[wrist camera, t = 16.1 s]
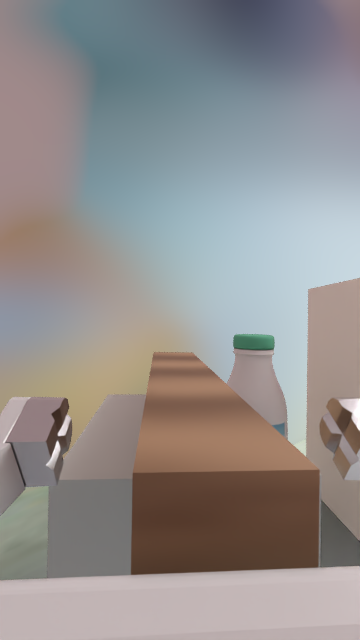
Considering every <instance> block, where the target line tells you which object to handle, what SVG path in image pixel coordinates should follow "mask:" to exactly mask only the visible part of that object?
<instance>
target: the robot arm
mask: <svg viewBox="0 0 360 640" xmlns="http://www.w3.org/2000/svg"><path fill="white" fill-rule="evenodd" d="M326 408H327V410H328V413H326V414H325V415H324V416H322V418H321V421H320V424H319V427H320V436H321V439H322V441H323V443H324V445H325V447H326V448H327V449H329V450H330V451H331V452H333V453H334V455H333V462H334V463H335V465H336V467H337V469H338V471H339V472H340V474H341V476H342V478H343V480H360V397H353V398H331V399H330V400H329V401H328V403H327V405H326ZM68 409H69V404H68V399H66V398H54V397H53V398H52V397H13V398H12V399H10V400H9V401H8V403H7V405H6V407H5V408H4V409H3V411H2V413H1V414H0V516H1V515H2V513H3V512H4V511H5V510H6V509H7V508H8V507H9V506H10V505H11V504H12V503H13V502H14V501H15V500H16V499H17V497H18V496H19V495H20V494H21V493H22V492H23V491H24V490H25V487H38V486H57V484H58V481H59V478H60V475H61V471H62V468H63V465H64V462H63V457H62V455H63V454H64V453H65V452H67V451H68V449H69V445H70V442H71V436H72V420H71V417H69V416H68V415H67V412H68ZM0 640H360V566H345V567H319V568H294V569H268V570H243V571H218V572H192V573H167V574H142V575H117V576H92V577H67V578H42V579H17V580H0Z"/></svg>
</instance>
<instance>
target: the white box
mask: <svg viewBox="0 0 360 640" xmlns="http://www.w3.org/2000/svg"><path fill="white" fill-rule="evenodd" d="M353 397H360V278H358V279H353V280H349V281H344V282H339V283H335V284H330V285H326V286H321V287H317V288H312V289H309V290H308V362H307V436H306V457H307V458H308V459H309V460H310V461H311V462H312V463H313V464H314V465H315V466H316V467H317V468H319V469H320V474H321V500H322V501H323V502H324V503H325V504H326V505H327V506H328V507H329V509H330V510H331V511H332V512H333V513H334V514H335V515H336V516H337V517H338V518H339V519H340V521H341V522H342V523H343V524H344V525H345V526H346V527H347V528H348V529H349V530H350V531H351V533H352V534H353V535H354V536H355V537H356V538H357V539H358V540H359V541H360V480H343V478H342V476H341V474H340V472H339V471H338V469H337V467H336V465H335V463H334V462H333V455H334V453H333V452H331V451H330V450H329V449H327V448H326V447H325V445H324V443H323V441H322V439H321V436H320V427H319V424H320V421H321V418H322V416H324V415H325V414H326V413H328V410H327V408H326V405H327V403H328V401H329V400H330V399H331V398H353Z"/></svg>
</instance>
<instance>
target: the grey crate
mask: <svg viewBox="0 0 360 640" xmlns="http://www.w3.org/2000/svg"><path fill="white" fill-rule="evenodd" d="M145 399H146V395H108V396H107V398H106V399H105V400H104V402H103V403H102V405H101V406H100V408H99V409H98V411H97V412H96V413H95V415H94V417H93V418H92V419H91V421H90V422H89V424H88V425H87V426H86V428H85V429H84V431H83V432H82V433H81V435H80V436H79V438H78V439H77V441H76V442H75V444H74V445H73V446H72V448H71V449H70V451H69V452H68V454H67V455H66V457H65V458H64V459H63V462H64V465H63V468H62V471H61V475H60V478H59V481H58V484H57V486H49V507H48V557H47V578H67V577H92V576H117V575H131V535H132V479H133V468H134V462H135V456H136V451H137V445H138V439H139V434H140V428H141V422H142V416H143V411H144V405H145ZM320 552H321V474H320V491H319V567H320Z"/></svg>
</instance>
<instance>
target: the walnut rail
mask: <svg viewBox="0 0 360 640" xmlns="http://www.w3.org/2000/svg"><path fill="white" fill-rule="evenodd" d="M319 491H320V469H319V468H317V467H316V466H315V465H314V464H313V463H312V462H311V461H310V460H309V459H308V458H307V457H305V456H304V455H303V454H302V453H301V452H300V451H299V450H298V449H297V448H296V447H295V446H293V445H292V444H291V443H290V442H289V441H288V440H287V439H286V438H285V437H284V436H283V435H281V434H280V433H279V432H278V431H277V430H276V429H275V428H274V427H273V426H272V425H271V424H269V423H268V422H267V421H266V420H265V419H264V418H263V417H262V416H261V415H260V414H259V413H257V412H256V411H255V410H254V409H253V408H252V407H251V406H250V405H249V404H248V403H247V402H245V401H244V400H243V399H242V398H241V397H240V396H239V395H238V394H237V393H236V392H235V391H234V390H232V389H231V388H230V387H229V386H228V385H227V384H226V383H225V382H224V381H222V380H221V379H220V378H219V377H218V376H217V375H216V374H215V373H214V372H213V371H212V370H211V369H209V368H208V367H207V366H206V365H205V364H204V363H203V362H202V361H201V360H200V359H199V358H197V357H196V356H195V355H194V354H193V353H179V352H178V353H177V352H175V353H174V352H169V353H168V352H154V354H153V360H152V365H151V371H150V376H149V382H148V388H147V394H146V399H145V405H144V411H143V416H142V422H141V428H140V434H139V439H138V445H137V451H136V456H135V462H134V468H133V479H132V535H131V575H142V574H167V573H192V572H218V571H243V570H268V569H294V568H319Z"/></svg>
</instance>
